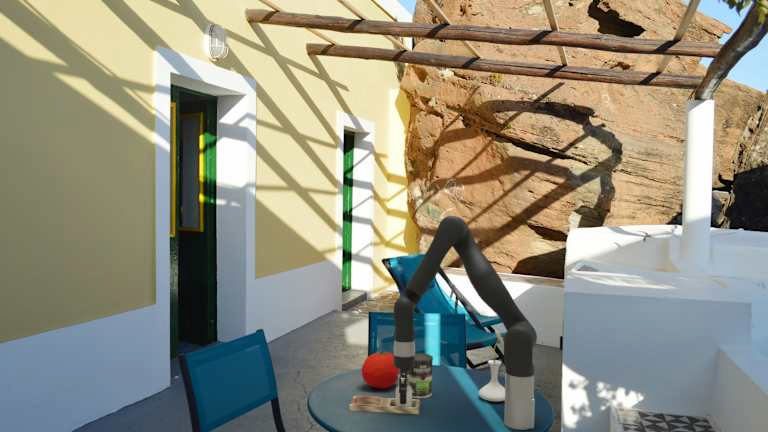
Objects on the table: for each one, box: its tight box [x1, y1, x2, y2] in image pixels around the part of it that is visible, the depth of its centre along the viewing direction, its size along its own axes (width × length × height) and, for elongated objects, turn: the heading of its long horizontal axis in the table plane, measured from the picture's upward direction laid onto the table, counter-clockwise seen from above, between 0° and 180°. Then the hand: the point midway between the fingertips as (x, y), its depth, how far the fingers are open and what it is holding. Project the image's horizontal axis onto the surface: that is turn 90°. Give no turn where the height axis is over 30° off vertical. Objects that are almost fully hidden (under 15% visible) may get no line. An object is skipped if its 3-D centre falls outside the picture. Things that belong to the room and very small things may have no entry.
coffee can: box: [408, 352, 434, 399], centre depth 228 cm, size 10×10×14 cm
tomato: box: [361, 348, 400, 389], centre depth 234 cm, size 16×14×14 cm
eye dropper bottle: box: [395, 383, 413, 407], centre depth 212 cm, size 4×6×12 cm
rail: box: [348, 395, 421, 415], centre depth 213 cm, size 24×8×2 cm, turn 84°
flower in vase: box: [477, 329, 505, 402], centre depth 224 cm, size 13×11×25 cm
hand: (403, 400), depth 213 cm, fingers open, 5 cm apart
